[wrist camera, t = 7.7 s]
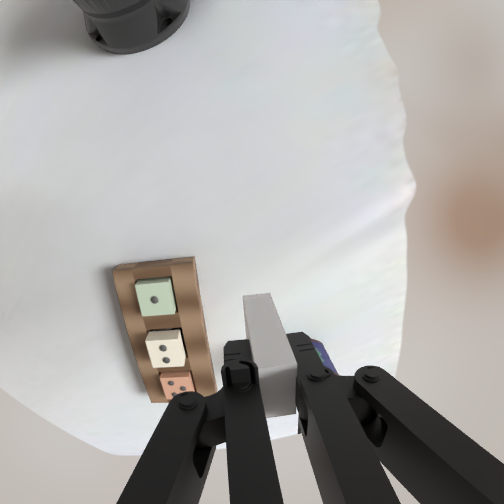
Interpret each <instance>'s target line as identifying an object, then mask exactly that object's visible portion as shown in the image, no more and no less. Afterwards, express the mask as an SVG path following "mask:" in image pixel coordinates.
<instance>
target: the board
mask: <svg viewBox="0 0 504 504" xmlns="http://www.w3.org/2000/svg"><path fill="white" fill-rule="evenodd" d="M112 273H113V277H114V282H115V286H116V290H117V294H118V298H119V302H120V306H121V310H122V314H123V318H124V321H125V325H126V328H127V332H128V335H129V339H130V342H131V345H132V348H133V352H134V355H135V358H136V361H137V364H138V367H139V370H140V373H141V376H142V379H143V381H144V384H145V387H146V390H147V392H148V395H149V398H150V400H151V403H169V402H170V400H171V399H166V396H165V393H164V390H163V387H162V384H161V381H160V375H161V372H168V371H187V370H192V375H193V379H194V383H195V388H196V389H195V392H197V393H200V394H201V395H203V396H204V397H206V396H209V395H212V394H215V393H216V392H217V385H216V380H215V375H214V370H213V365H212V360H211V354H210V349H209V343H208V338H207V332H206V327H205V321H204V315H203V309H202V303H201V296H200V290H199V283H198V277H197V270H196V263H195V257H185V258H176V259H167V260H157V261H148V262H139V263H129V264H120V265H118V266H117V267H116V268H115V269H114V270H113V271H112ZM166 276H172V279H173V285H174V290H175V296H176V301H177V308H176V311H175V314H169V315H156V316H142V314H141V309H140V305H139V301H138V297H137V292H136V288H135V284H136V283H137V281H138V280H139V279H146V278H156V277H166ZM179 327H182V331H183V335H184V340H185V345H186V347H184V351H185V355H186V358H185V364H184V366H180V367H160V368H153V366H152V363H151V359H150V356H149V353H148V349H147V346H146V342H145V340H146V338H147V335H148V333H149V332H153V329H165V328H179Z"/></svg>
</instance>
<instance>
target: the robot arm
mask: <svg viewBox="0 0 504 504" xmlns="http://www.w3.org/2000/svg"><path fill="white" fill-rule="evenodd" d="M73 1H74V2H75V3H76V4H77V5H78V6H79V7H80V8H81V9H82V10H83V12H84V18H85V24H86V29H87V32H88V34H89V36H90V37H91V39H92V40H93V41H94V42H95V43H96V44H97V45H98V46H99V47H101V48H102V49H104V50H106V51H108V52H112V53H117V54H130V53H136V52H140V51H144V50H147V49H149V48H152V47H154V46H156V45H158V44H160V43H161V42H163V41H164V40H166V39H167V38H169V37H170V36H171V35H172V34H174V33H175V32H176V31H177V30H178V28H179V27H180V26H181V25H182V23H183V22H184V20H185V19H186V17H187V14H188V11H189V7H190V0H73ZM243 305H244V316H245V327H246V338H247V339H245V340H235V341H228V342H227V343H226V345H225V346H224V365H223V366H222V369H221V375H222V381H223V387H222V389H221V390H220V391H218V392H216V393H215V394H212V395H209V396H206V397H204V396H203V395H201V394H200V393H197V392H193V391H186V392H182V393H179V394H177V395H175V396H174V397H173V398H172V399H171V400H170V402H169V404H168V406H167V408H166V410H165V412H164V414H163V416H162V418H161V419H160V421H159V423H158V425H157V427H156V429H155V431H154V433H153V435H152V437H151V438H150V440H149V442H148V444H147V446H146V448H145V450H144V452H143V454H142V456H141V458H140V459H139V461H138V463H137V465H136V467H135V469H134V471H133V473H132V475H131V477H130V479H129V481H128V482H127V484H126V486H125V488H124V490H123V492H122V494H121V496H120V498H119V500H118V502H117V503H116V504H198V503H199V500H200V497H201V494H202V490H203V488H204V484H205V481H206V478H207V475H208V472H209V469H210V465H211V462H212V459H213V455H214V452H215V449H216V445H218V444H221V443H224V442H226V448H227V465H228V480H229V494H230V504H284V503H283V498H282V494H281V489H280V485H279V480H278V475H277V470H276V465H275V461H274V456H273V450H272V446H271V441H270V436H269V431H268V426H267V421H266V418H270V417H278V416H284V415H291V414H296V407H297V410H298V413H299V418H298V434H301V432H302V436H303V439H304V442H305V446H306V449H307V452H308V455H309V459H310V462H311V465H312V468H313V472H314V475H315V478H316V481H317V485H318V488H319V491H320V494H321V497H322V501H323V504H401V503H400V501H399V499H398V497H397V495H396V493H395V491H394V489H393V487H392V485H391V483H390V481H389V479H388V477H387V475H386V473H385V471H384V469H383V467H382V465H381V463H382V464H383V465H384V466H385V467H386V468H387V469H388V470H389V471H390V472H391V473H392V474H393V476H394V477H395V478H396V479H397V480H398V481H399V482H400V483H401V484H402V485H403V486H404V487H405V488H406V489H407V490H408V491H409V492H410V493H411V494H412V495H413V496H414V498H415V499H416V500H417V501H418V502H419V503H420V504H504V464H503V463H502V462H500V461H499V460H498V459H496V458H495V457H494V456H493V455H491V454H490V453H489V452H487V451H486V450H485V449H483V448H482V447H481V446H480V445H478V444H477V443H476V442H475V441H473V440H472V439H471V438H470V437H468V436H467V435H465V433H463V432H462V431H461V430H459V429H458V428H457V427H456V426H454V425H453V424H452V423H451V422H449V421H448V420H446V419H445V418H444V417H443V416H442V415H440V414H439V413H438V412H437V411H435V410H434V409H433V408H432V407H430V406H429V405H428V404H426V403H425V402H424V401H423V400H421V399H420V398H419V397H418V396H416V395H415V394H414V393H412V392H411V391H410V390H409V389H408V388H406V387H405V386H404V385H403V384H401V383H400V382H399V381H397V380H396V379H395V378H394V377H393V376H391V375H390V374H389V373H388V372H386V371H385V370H384V369H382V368H380V367H377V366H364V367H361V368H360V369H358V370H357V371H356V373H355V376H339V375H335V374H334V372H333V371H332V370H331V369H330V368H328V367H326V366H324V365H323V363H322V361H321V359H320V357H319V355H318V353H317V351H316V349H315V347H314V345H313V344H312V341H311V339H310V337H309V336H308V335H306V334H305V333H303V332H297V333H290V334H286V333H285V331H284V328H283V326H282V323H281V320H280V318H279V315H278V313H277V310H276V307H275V305H274V302H273V300H272V297H271V295H270V293H266V294H256V295H246V296H243ZM380 462H381V463H380Z"/></svg>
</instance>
